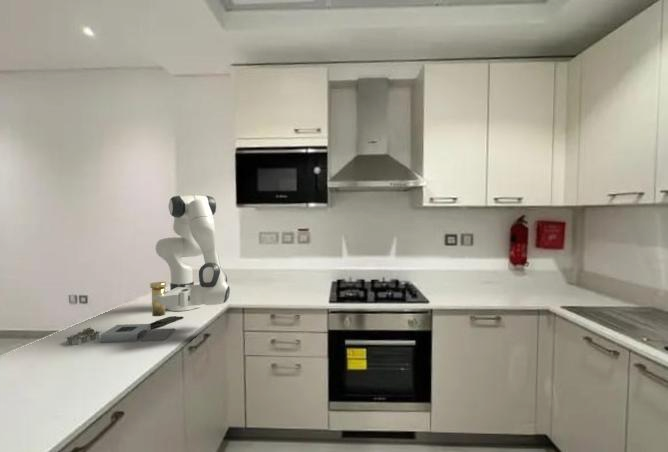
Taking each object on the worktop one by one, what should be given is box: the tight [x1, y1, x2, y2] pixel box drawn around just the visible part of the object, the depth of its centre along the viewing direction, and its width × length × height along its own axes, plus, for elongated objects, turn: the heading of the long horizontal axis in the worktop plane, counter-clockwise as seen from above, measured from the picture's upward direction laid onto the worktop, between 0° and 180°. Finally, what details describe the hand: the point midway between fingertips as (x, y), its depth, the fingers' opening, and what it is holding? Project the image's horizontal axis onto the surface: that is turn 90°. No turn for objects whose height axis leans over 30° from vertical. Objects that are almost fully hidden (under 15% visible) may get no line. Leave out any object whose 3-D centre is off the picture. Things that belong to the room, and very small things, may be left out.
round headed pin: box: [149, 281, 167, 317], centre depth 156 cm, size 6×6×14 cm
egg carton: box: [64, 326, 101, 346], centre depth 150 cm, size 11×8×4 cm
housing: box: [99, 323, 152, 343], centre depth 155 cm, size 14×14×3 cm
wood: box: [149, 315, 184, 330], centre depth 173 cm, size 22×7×3 cm, turn 163°
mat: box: [140, 327, 176, 342], centre depth 156 cm, size 14×9×1 cm, turn 6°
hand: (156, 296), depth 156 cm, fingers closed on round headed pin, 5 cm apart
